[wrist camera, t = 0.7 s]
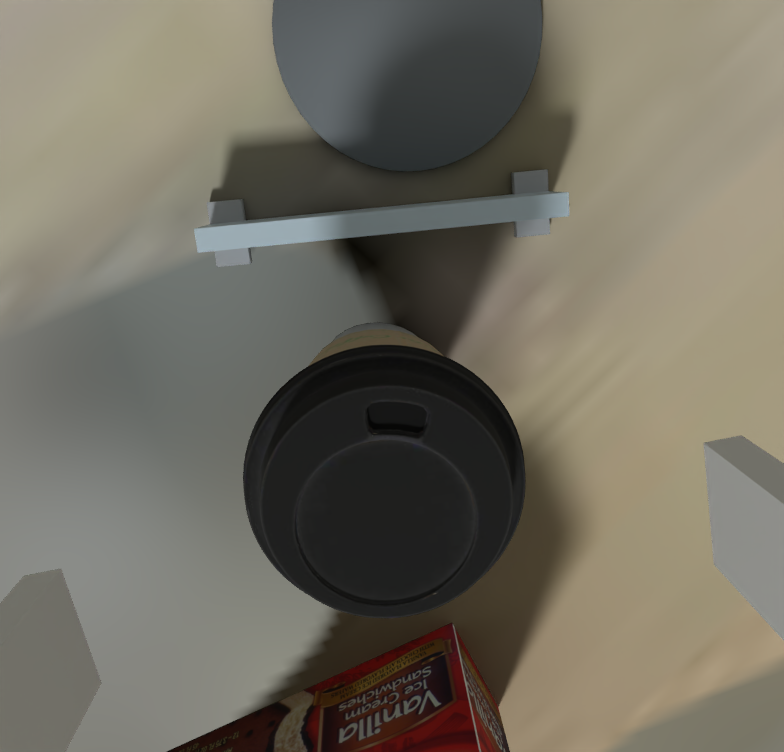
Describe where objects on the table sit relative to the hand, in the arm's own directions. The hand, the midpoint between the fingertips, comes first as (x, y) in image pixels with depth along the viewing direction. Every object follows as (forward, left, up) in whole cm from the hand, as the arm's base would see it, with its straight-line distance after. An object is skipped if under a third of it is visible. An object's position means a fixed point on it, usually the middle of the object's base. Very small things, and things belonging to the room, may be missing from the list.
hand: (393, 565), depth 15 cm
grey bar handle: (+1, +6, -22) cm, 23 cm away
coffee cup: (0, -2, -23) cm, 23 cm away
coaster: (+3, +14, -22) cm, 26 cm away
